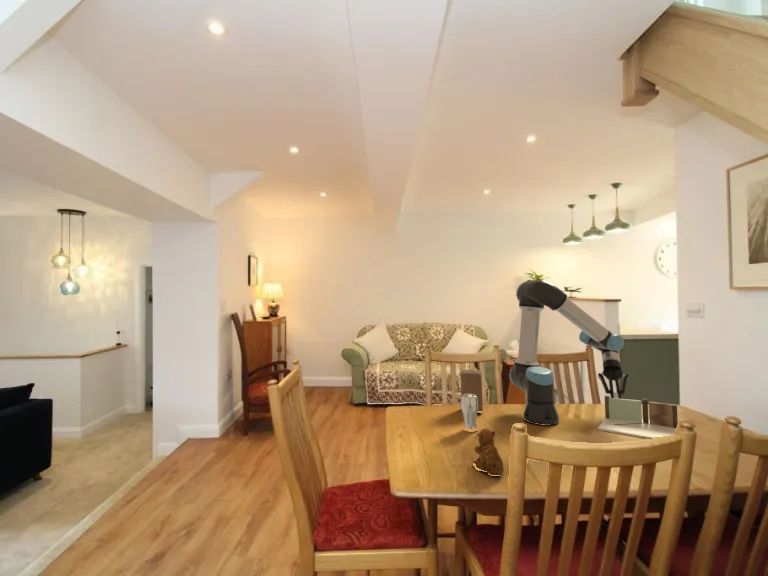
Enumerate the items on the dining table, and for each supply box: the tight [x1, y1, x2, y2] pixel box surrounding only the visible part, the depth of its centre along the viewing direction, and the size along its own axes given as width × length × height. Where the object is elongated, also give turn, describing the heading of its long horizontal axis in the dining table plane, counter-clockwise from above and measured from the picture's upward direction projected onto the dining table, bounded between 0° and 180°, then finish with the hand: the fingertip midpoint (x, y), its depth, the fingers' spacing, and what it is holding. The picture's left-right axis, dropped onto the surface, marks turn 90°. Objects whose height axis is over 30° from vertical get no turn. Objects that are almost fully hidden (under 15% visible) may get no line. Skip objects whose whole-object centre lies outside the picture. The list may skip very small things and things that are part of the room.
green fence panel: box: [604, 395, 643, 422], centre depth 173 cm, size 14×2×10 cm, turn 59°
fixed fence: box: [641, 398, 679, 428], centre depth 165 cm, size 12×2×11 cm, turn 50°
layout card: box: [597, 418, 676, 440], centre depth 165 cm, size 27×24×1 cm
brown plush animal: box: [472, 428, 504, 477], centre depth 129 cm, size 10×14×13 cm
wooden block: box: [460, 369, 484, 411], centre depth 195 cm, size 10×10×20 cm
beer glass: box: [460, 394, 478, 429], centre depth 169 cm, size 7×7×15 cm
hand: (617, 406), depth 176 cm, fingers closed
